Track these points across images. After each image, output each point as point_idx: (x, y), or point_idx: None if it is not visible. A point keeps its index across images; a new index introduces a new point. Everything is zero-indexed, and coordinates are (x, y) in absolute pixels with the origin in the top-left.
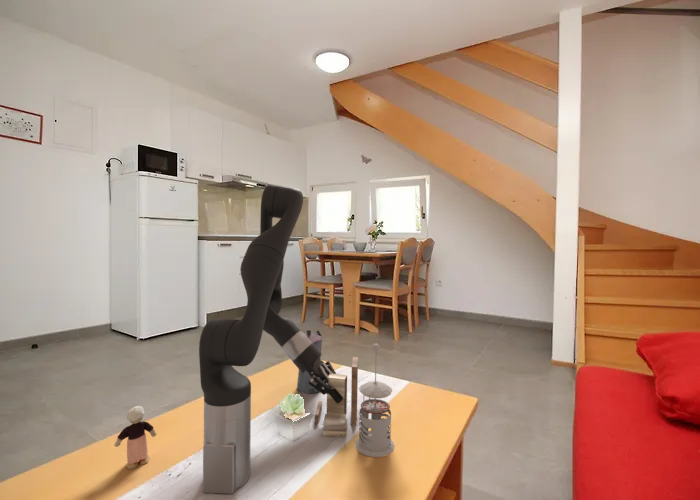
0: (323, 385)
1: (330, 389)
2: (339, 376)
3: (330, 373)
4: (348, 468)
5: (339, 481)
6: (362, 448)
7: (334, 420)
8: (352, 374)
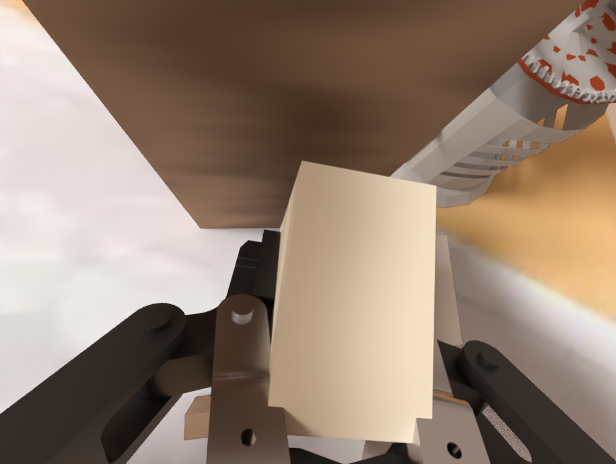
0: (576, 434)
1: (440, 346)
2: (363, 260)
3: (283, 425)
4: (562, 222)
5: (613, 244)
6: (487, 179)
7: (441, 288)
8: (525, 41)
